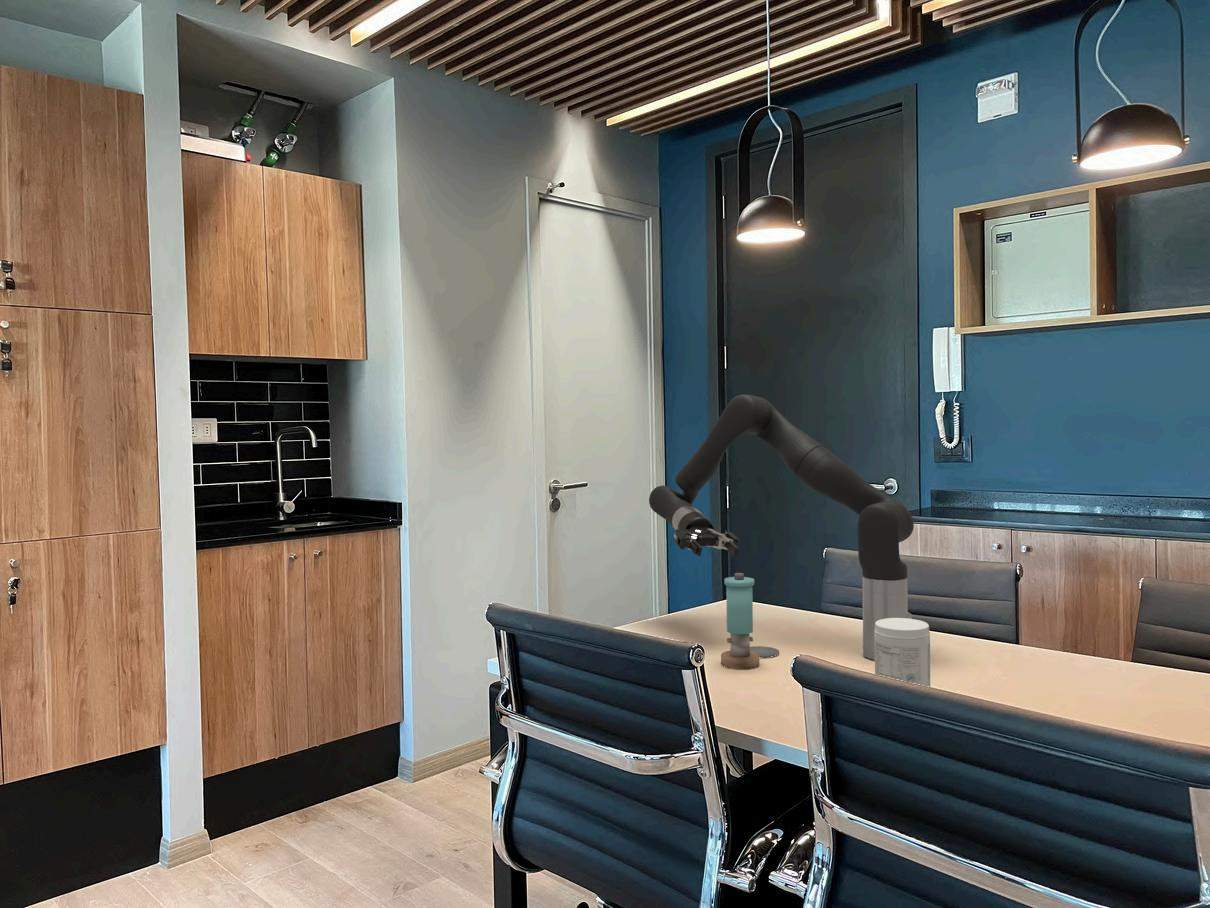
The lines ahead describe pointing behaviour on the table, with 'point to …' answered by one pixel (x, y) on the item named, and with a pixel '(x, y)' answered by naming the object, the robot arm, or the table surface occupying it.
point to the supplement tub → (903, 650)
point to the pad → (764, 651)
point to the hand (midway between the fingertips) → (718, 552)
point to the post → (740, 653)
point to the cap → (739, 604)
